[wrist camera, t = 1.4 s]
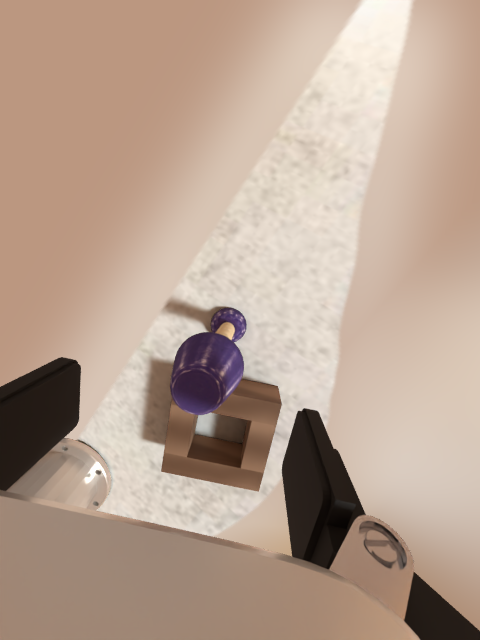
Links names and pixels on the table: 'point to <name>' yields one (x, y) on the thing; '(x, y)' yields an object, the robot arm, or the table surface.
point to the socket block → (219, 455)
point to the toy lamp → (209, 365)
